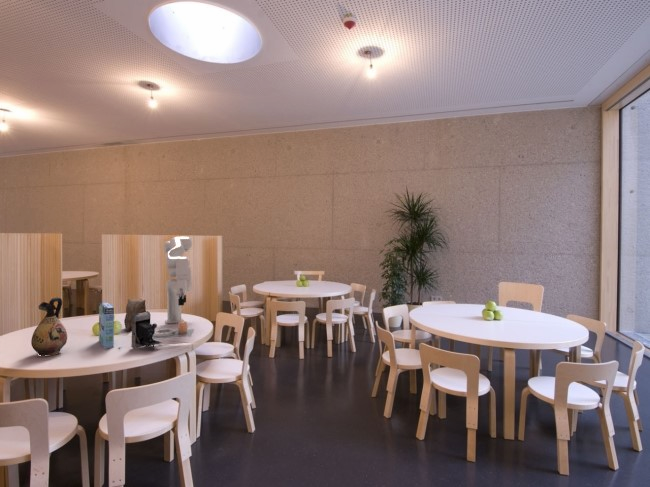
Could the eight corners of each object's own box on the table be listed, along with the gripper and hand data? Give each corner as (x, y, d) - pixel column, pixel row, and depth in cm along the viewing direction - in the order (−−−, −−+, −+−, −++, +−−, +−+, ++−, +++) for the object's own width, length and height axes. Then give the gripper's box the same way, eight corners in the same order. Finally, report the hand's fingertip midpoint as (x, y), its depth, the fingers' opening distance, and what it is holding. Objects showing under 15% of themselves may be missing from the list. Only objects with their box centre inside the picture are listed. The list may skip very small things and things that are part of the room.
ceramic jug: (49, 359, 187) (48, 301, 186) (23, 357, 190) (23, 300, 189) (77, 349, 204) (76, 296, 203) (53, 347, 206) (52, 295, 206)
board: (155, 333, 237) (155, 331, 237) (194, 331, 243) (194, 329, 243) (148, 341, 220) (148, 338, 219) (191, 338, 225) (191, 336, 225)
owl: (124, 328, 251) (123, 299, 250) (144, 325, 258) (144, 297, 257) (126, 332, 240) (126, 301, 240) (147, 329, 248) (147, 300, 247)
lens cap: (179, 332, 235) (179, 321, 235) (187, 331, 237) (187, 320, 236) (177, 334, 229) (177, 323, 229) (186, 334, 230) (186, 323, 230)
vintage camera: (146, 353, 198) (147, 317, 198) (130, 348, 206) (131, 313, 206) (162, 349, 206) (163, 314, 206) (146, 344, 214) (147, 310, 214)
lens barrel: (155, 332, 235) (155, 329, 235) (176, 331, 238) (176, 328, 238) (150, 337, 222) (150, 334, 222) (173, 336, 225) (173, 333, 225)
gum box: (98, 341, 220) (98, 303, 219) (108, 339, 223) (108, 302, 223) (104, 348, 205) (103, 308, 204) (114, 347, 208) (114, 307, 208)
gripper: (178, 275, 239) (178, 301, 240) (173, 278, 222) (173, 306, 223) (190, 275, 241) (190, 301, 241) (186, 278, 224) (186, 306, 225)
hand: (182, 303), depth 232 cm, fingers open, 9 cm apart
